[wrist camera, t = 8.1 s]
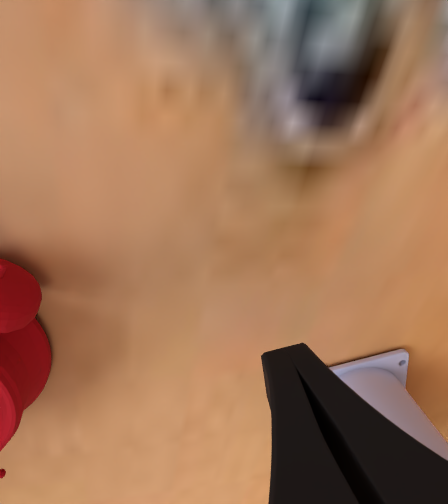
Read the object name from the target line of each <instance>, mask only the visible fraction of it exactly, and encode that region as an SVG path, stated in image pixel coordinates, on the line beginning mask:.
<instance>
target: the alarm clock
mask: <svg viewBox="0 0 448 504" xmlns="http://www.w3.org/2000/svg"><path fill="white" fill-rule="evenodd" d="M41 300H42V294H41V289H40V286H39V284H38V282H37V281H36V279H35V278H34V277H33V275H31V274H30V273H29V272H27V271H26V270H25V269H23V268H22V267H20V266H18V265H16V264H14V263H11V262H9V261H7V260H4V259H0V451H1V450H2V449H3V448H4V447H5V445H6V444H7V443H8V442H9V441H10V439H11V438H12V437H13V435H14V434H15V432H16V430H17V429H18V426H19V424H20V420H21V417H22V414H23V411H24V409H26V408H27V407H28V406H29V405H31V404H32V403H33V402H34V401H35V400H36V398H37V397H38V396H39V395H40V393H41V392H42V390H43V388H44V386H45V384H46V382H47V379H48V376H49V372H50V368H51V350H50V345H49V342H48V339H47V337H46V334H45V332H44V331H43V329H42V327H41V326H40V324H39V323H38V321H37V320H36V319H35V316H36V314H37V312H38V310H39V306H40V303H41ZM5 474H6V471H5V470H4V469H0V478H3V477H4V476H5Z"/></svg>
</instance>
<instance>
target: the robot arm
mask: <svg viewBox="0 0 448 504" xmlns="http://www.w3.org/2000/svg"><path fill="white" fill-rule="evenodd" d="M261 359H262V366H263V372H264V379H265V386H266V393H267V398H268V402H269V405H270V409H271V417H272V458H271V478H270V492H269V504H448V443H447V442H446V440H445V439H444V438H443V436H442V435H441V434H440V433H439V431H438V430H437V429H436V427H435V426H434V425H433V424H432V422H431V421H430V420H429V418H428V417H427V416H426V415H425V413H424V412H423V411H422V410H421V408H420V407H419V406H418V404H417V403H416V402H415V401H414V399H413V398H412V397H411V395H410V394H409V393H408V392H407V390H406V389H405V386H406V378H407V369H408V361H409V353H408V352H407V351H406V350H405V349H398V350H395V351H391V352H387V353H383V354H379V355H375V356H371V357H367V358H364V359H360V360H356V361H352V362H348V363H344V364H340V365H337V366H333V367H329V368H328V367H327V366H326V365H325V364H324V363H323V362H322V361H321V360H320V359H319V358H318V357H317V356H316V355H315V354H314V352H313V351H312V350H311V349H310V348H309V347H308V346H307V345H306V344H304V343H300V344H296V345H292V346H288V347H284V348H280V349H276V350H272V351H268V352H264V353H263V355H262V356H261Z"/></svg>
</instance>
